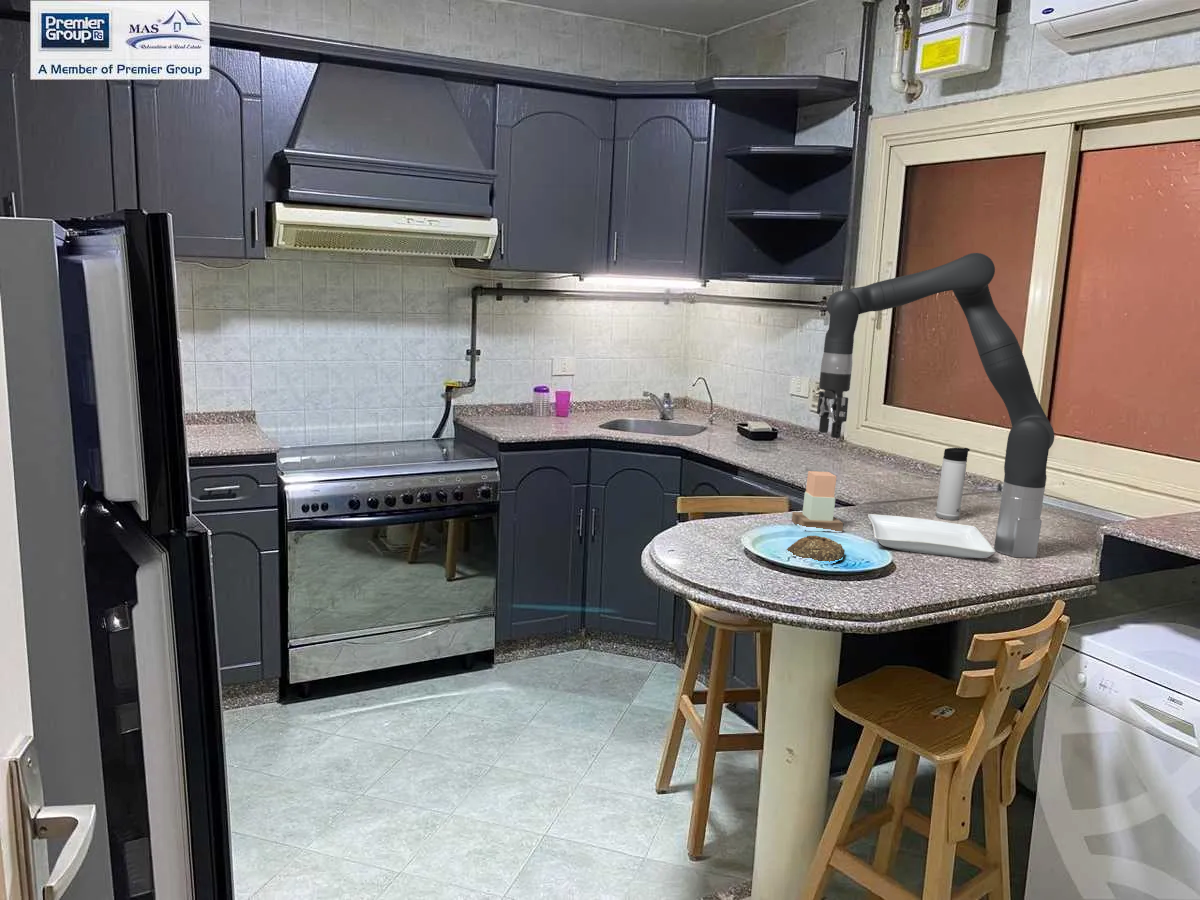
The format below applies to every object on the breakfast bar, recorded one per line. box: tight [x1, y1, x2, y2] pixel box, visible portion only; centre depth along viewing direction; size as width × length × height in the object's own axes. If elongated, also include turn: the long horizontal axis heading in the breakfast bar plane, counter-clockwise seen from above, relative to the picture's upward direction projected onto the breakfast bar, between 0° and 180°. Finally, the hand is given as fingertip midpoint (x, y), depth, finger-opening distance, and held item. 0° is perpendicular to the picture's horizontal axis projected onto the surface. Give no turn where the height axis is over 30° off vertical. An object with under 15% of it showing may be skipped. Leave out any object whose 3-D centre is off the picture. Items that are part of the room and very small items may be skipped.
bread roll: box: [786, 535, 846, 562], centre depth 214 cm, size 13×12×5 cm
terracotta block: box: [805, 470, 837, 498], centre depth 240 cm, size 6×6×6 cm
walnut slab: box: [791, 511, 844, 532], centre depth 242 cm, size 10×10×2 cm
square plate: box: [867, 513, 996, 559], centre depth 233 cm, size 27×27×4 cm
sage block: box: [802, 491, 836, 521], centre depth 241 cm, size 6×6×6 cm
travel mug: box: [935, 447, 970, 521], centre depth 261 cm, size 6×7×20 cm
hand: (829, 435), depth 238 cm, fingers open, 8 cm apart
